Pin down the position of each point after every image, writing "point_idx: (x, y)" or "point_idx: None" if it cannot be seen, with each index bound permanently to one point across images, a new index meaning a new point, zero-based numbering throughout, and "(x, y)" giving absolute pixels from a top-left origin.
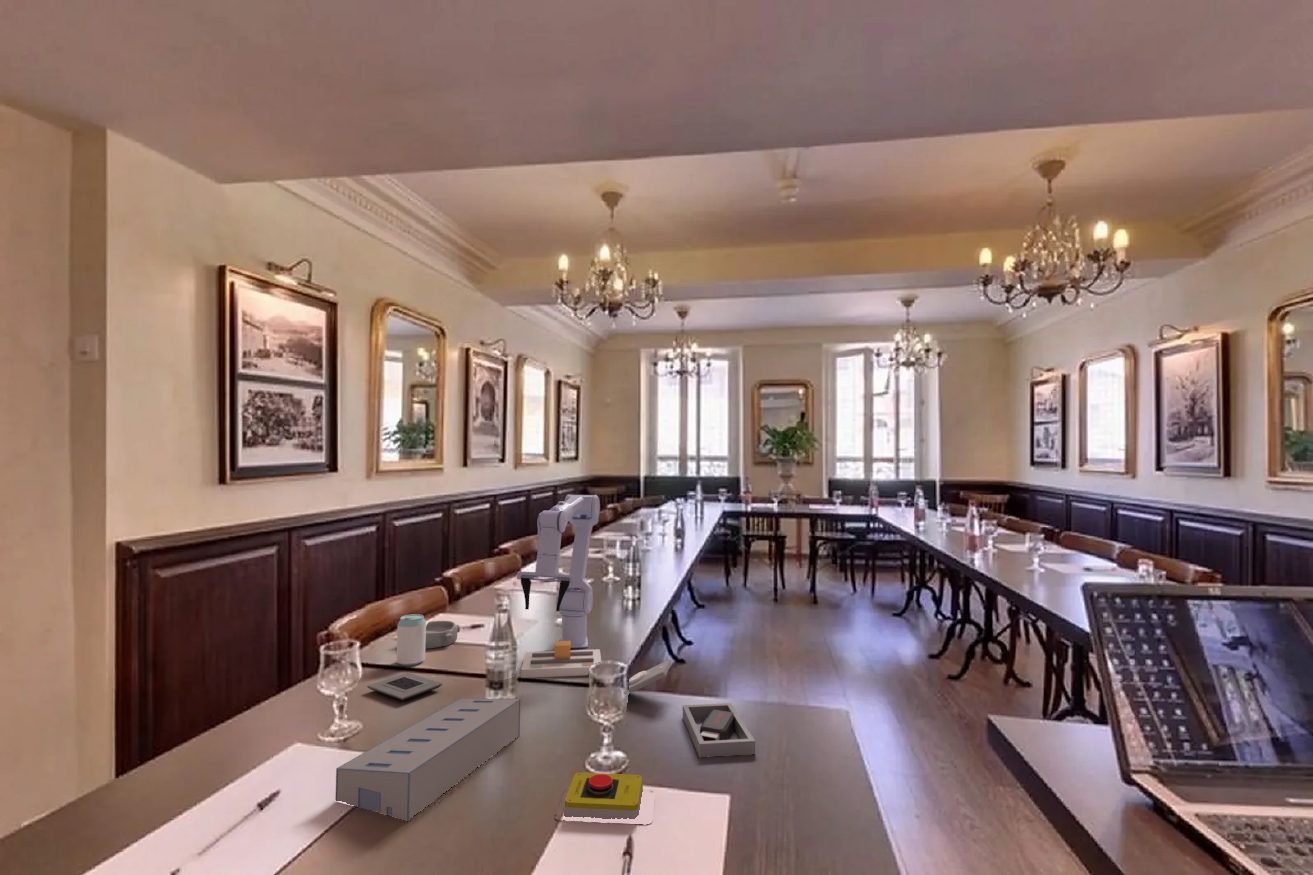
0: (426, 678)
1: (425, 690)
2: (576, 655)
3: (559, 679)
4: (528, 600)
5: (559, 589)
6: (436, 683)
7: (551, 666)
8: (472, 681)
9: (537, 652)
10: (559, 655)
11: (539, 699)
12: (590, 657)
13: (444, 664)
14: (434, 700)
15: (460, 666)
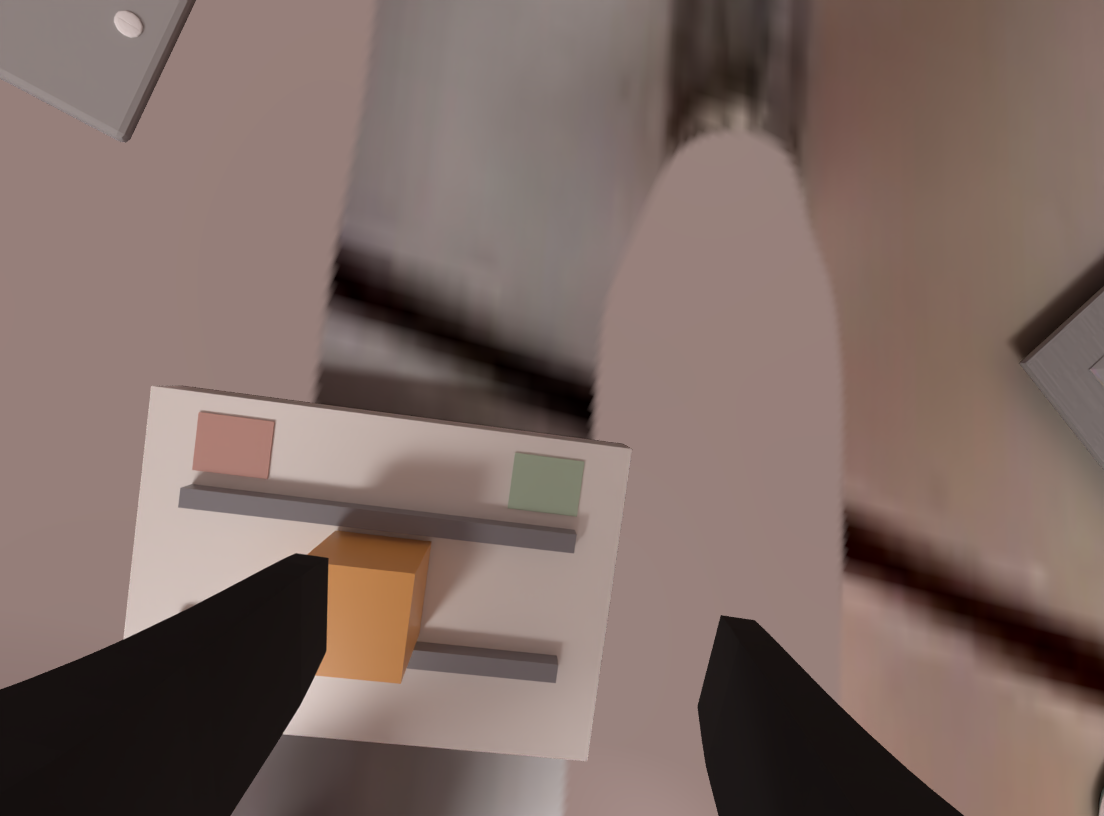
0: (1099, 453)
1: (1093, 296)
2: None
3: (426, 373)
4: (776, 689)
5: (8, 781)
6: (1052, 366)
7: (457, 462)
8: (859, 453)
9: (518, 735)
10: (394, 547)
11: (553, 121)
12: (199, 572)
13: (992, 736)
14: (1022, 247)
15: (916, 689)
